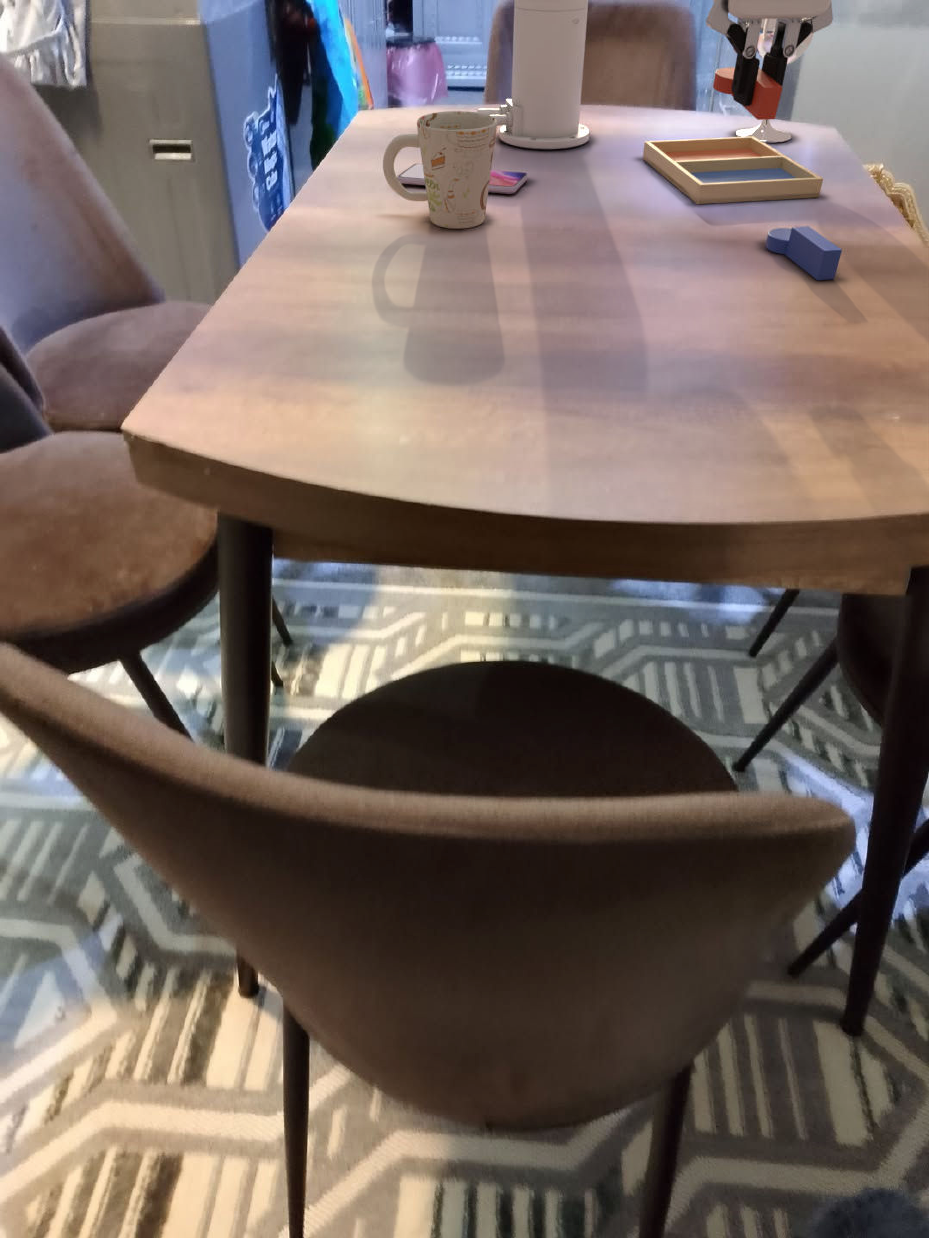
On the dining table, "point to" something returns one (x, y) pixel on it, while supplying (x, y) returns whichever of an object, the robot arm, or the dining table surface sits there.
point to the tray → (730, 170)
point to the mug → (450, 165)
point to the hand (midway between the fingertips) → (754, 101)
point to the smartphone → (498, 182)
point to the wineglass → (764, 45)
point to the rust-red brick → (763, 95)
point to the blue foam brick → (806, 250)
